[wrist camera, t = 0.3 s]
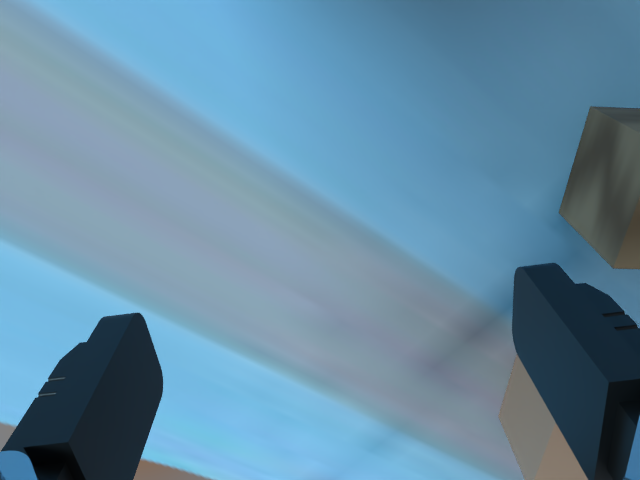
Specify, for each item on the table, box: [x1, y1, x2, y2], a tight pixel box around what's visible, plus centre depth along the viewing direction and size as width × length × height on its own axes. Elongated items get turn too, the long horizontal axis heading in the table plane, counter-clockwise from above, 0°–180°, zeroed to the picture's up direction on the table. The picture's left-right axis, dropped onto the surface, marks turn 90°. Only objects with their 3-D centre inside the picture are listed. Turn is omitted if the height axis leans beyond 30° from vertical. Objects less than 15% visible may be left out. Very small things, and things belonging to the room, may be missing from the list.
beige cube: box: [498, 354, 588, 480], centre depth 33 cm, size 6×6×6 cm
